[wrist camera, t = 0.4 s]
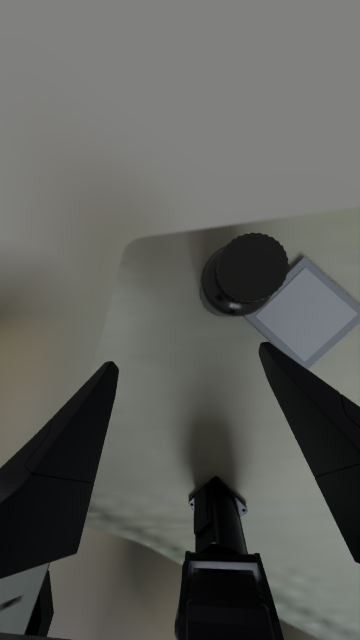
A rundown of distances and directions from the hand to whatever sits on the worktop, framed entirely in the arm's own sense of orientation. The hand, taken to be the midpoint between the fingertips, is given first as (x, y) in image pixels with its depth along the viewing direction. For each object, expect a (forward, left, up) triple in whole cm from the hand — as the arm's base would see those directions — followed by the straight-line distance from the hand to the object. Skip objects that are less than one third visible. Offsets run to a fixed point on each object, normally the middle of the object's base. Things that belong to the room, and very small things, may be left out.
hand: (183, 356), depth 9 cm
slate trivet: (-9, -12, -14) cm, 21 cm away
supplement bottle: (+1, -7, -14) cm, 16 cm away
